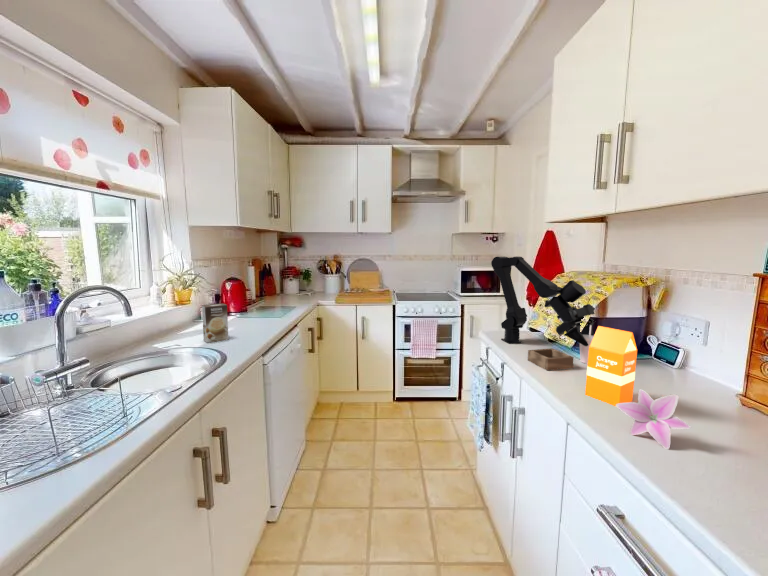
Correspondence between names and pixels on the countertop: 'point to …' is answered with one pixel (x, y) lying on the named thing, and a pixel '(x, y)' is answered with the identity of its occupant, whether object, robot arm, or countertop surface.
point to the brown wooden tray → (550, 359)
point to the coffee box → (215, 322)
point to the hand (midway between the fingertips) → (591, 344)
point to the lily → (654, 416)
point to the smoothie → (585, 347)
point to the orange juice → (611, 366)
